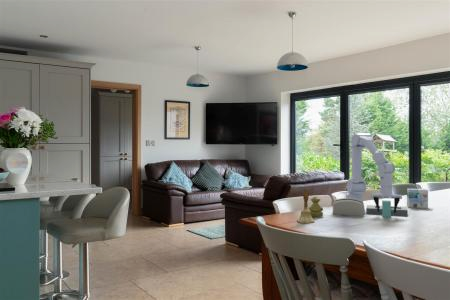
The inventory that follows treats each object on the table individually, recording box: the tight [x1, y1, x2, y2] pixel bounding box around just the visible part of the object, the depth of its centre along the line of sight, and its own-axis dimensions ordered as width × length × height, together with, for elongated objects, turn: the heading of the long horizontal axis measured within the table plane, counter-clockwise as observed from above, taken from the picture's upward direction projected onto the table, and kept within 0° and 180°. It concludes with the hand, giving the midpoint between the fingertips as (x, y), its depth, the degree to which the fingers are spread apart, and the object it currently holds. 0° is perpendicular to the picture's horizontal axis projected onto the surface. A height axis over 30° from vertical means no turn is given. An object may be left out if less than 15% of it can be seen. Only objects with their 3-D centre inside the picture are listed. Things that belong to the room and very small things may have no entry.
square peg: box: [381, 200, 392, 218], centre depth 195 cm, size 4×4×8 cm
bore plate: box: [365, 204, 409, 217], centre depth 205 cm, size 20×12×3 cm, turn 67°
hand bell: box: [296, 188, 315, 224], centre depth 183 cm, size 8×8×16 cm
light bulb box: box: [406, 188, 429, 209], centre depth 225 cm, size 11×7×11 cm, turn 73°
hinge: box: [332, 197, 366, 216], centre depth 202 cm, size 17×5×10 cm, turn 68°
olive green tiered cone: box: [308, 196, 324, 218], centre depth 197 cm, size 7×7×10 cm
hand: (386, 212), depth 195 cm, fingers open, 7 cm apart
